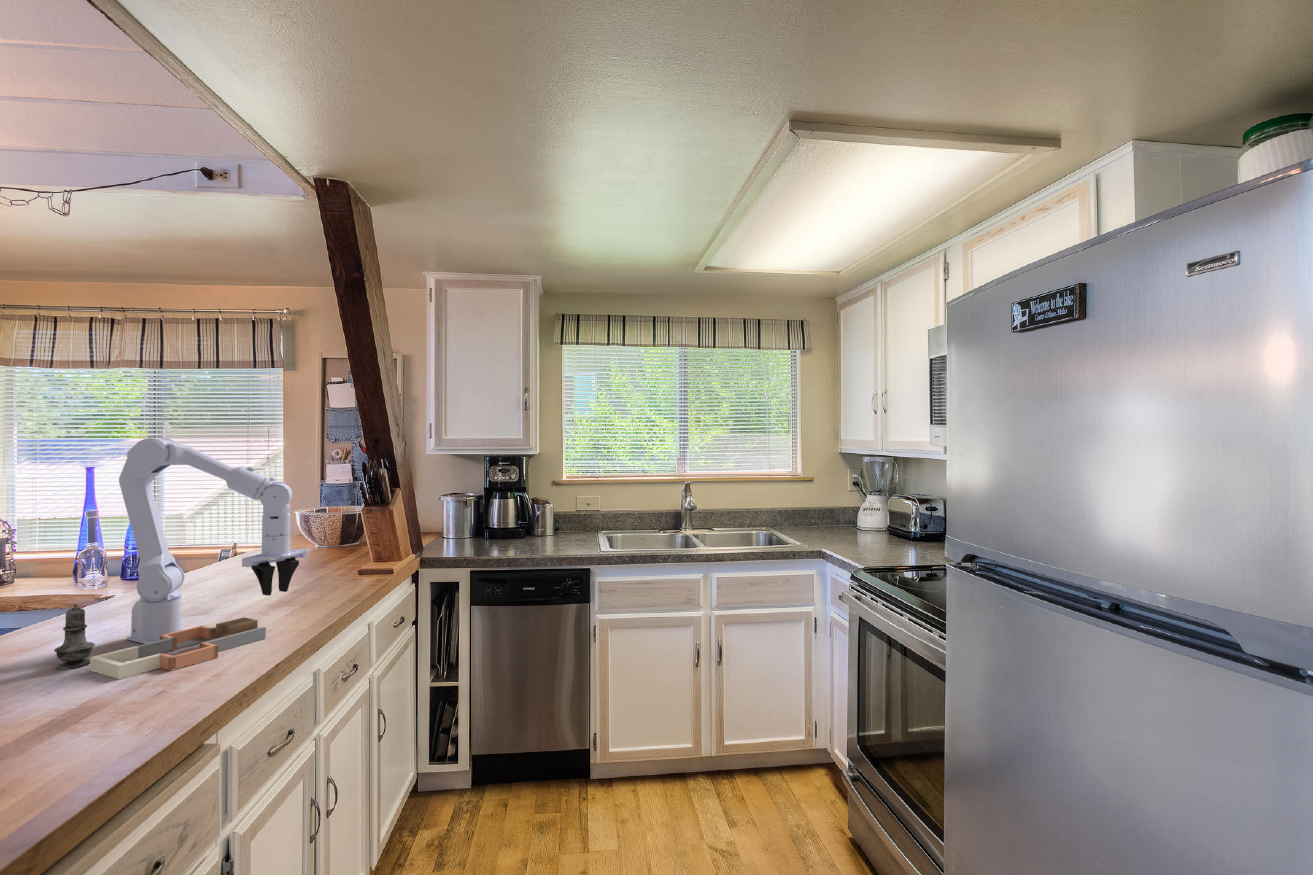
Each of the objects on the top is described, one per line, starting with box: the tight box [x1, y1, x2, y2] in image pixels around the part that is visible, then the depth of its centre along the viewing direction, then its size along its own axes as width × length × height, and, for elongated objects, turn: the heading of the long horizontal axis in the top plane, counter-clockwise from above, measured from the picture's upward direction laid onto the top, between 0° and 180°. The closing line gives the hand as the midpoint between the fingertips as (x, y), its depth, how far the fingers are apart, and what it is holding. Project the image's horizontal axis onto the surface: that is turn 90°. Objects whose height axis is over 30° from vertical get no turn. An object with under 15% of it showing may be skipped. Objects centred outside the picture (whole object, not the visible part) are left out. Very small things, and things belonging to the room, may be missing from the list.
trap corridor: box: [89, 624, 267, 680], centre depth 133 cm, size 17×28×2 cm, turn 155°
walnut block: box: [215, 617, 259, 639], centre depth 143 cm, size 5×6×4 cm
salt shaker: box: [53, 603, 96, 671], centre depth 126 cm, size 6×6×12 cm
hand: (275, 592), depth 151 cm, fingers open, 3 cm apart
